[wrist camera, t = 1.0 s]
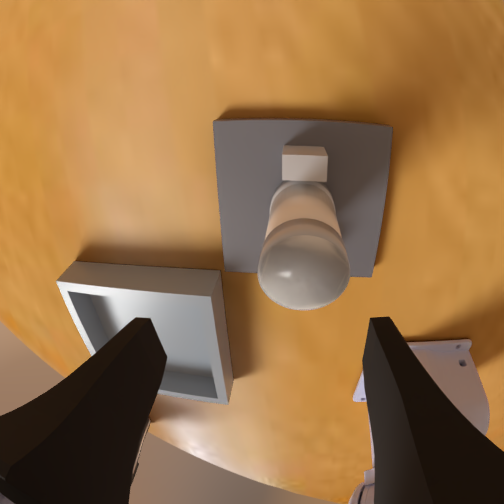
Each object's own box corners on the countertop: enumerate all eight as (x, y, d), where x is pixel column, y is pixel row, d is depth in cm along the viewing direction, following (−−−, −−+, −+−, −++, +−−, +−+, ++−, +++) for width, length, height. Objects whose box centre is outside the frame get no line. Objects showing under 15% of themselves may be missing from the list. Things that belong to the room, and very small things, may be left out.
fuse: (335, 176, 15) (356, 235, 10) (330, 233, 17) (343, 311, 12) (271, 174, 16) (256, 232, 10) (271, 231, 18) (258, 308, 12)
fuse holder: (388, 124, 14) (405, 134, 12) (369, 269, 19) (377, 298, 17) (216, 119, 15) (201, 127, 13) (227, 264, 20) (217, 291, 18)
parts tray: (220, 270, 20) (210, 296, 18) (233, 380, 27) (228, 404, 24) (74, 261, 22) (56, 280, 20) (116, 361, 28) (106, 381, 26)
